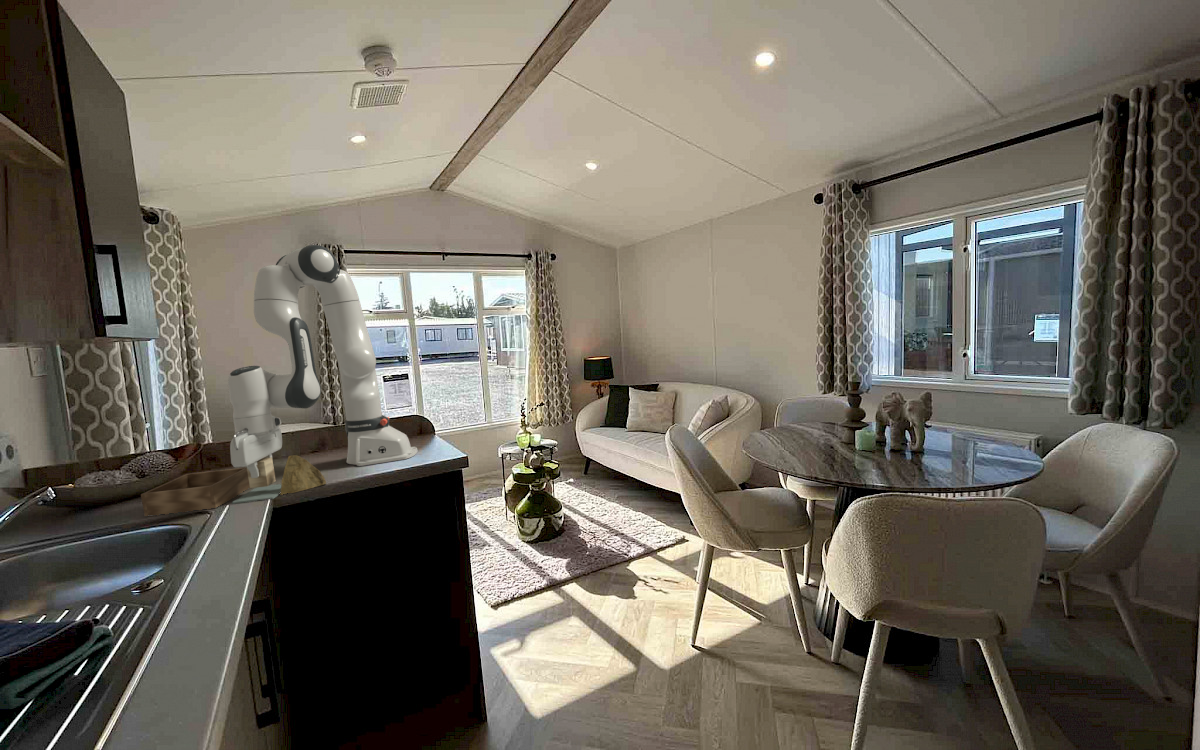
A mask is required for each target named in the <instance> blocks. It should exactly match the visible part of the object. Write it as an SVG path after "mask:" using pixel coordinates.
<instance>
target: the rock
mask: <svg viewBox="0 0 1200 750" xmlns="http://www.w3.org/2000/svg"><path fill="white" fill-rule="evenodd" d="M285 462H286V463H285V466H284V470H283V475H282V479H281V481H280V482H281V483H280V484H281V493H280V494H279V495H280V496H284V495H287V493H288V494H293V493H294V494H295V493H299V492H302V491H305V490H310V489H314V488H316V487H321V486H325V485H326V484H327V481H326V479H325V476H324V475H323V474H322V472H321V470H319V469H318V468H317V467H315V466H314V465H313V464H312V463H311V462H309V461H308V460H307V459H305V458H303V457H301V456H299V455H296V454H295V455H294V454H293V455H288V457H287V461H285ZM283 494H284V495H283Z"/></svg>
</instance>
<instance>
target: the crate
mask: <svg viewBox="0 0 1200 750" xmlns="http://www.w3.org/2000/svg"><path fill="white" fill-rule="evenodd" d="M248 488H249V489H251V488H250V484H249V478H248V472H247V467H237V468H228V469H221V470H220V469H219V470H211V471H204V472H203V471H202V472H193V473H186V474H183V475H180V476H179V477H177V478H174V479H172V480H169V481H167V482H165V483H163V484H161V485H158V486H156V487H154V488H152V489H150V490H147V491H145V492H143V493H141V494H140V498H141V499H140V500H141V503H142V509H143V513H144V514H143V515H144V517H145V516H148V515H157V516H160V515H159V514H165V515H170V514H169V513H174V514H179V513H178V512H182V513H188V512H187V511H190V512H194V511H193V510H199V511H203V510H202V509H207V510H212V509H211V508H215V509H217V508H216V507H218V506H219V507H221V506H223V505H225V503H227V501H228V502H229V501H231V500H233V499H234V498H236V497H238V496H239V495H241V494H243V493H244V492H245V490H246V491H247V490H249V489H248ZM243 491H244V492H243ZM240 493H241V494H240ZM237 495H238V496H237ZM232 498H233V499H232ZM222 504H223V505H222ZM220 505H221V506H220ZM219 507H218V508H219Z"/></svg>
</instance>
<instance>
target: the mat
mask: <svg viewBox="0 0 1200 750" xmlns="http://www.w3.org/2000/svg"><path fill="white" fill-rule="evenodd" d="M280 492H281V483H278V484H271V485H269V486H266V487H257V488H252V489H251V490H249V491H248V492H246V493H244V494H243V495H241V496H240V497H238V498H237V499H235V500H233V501H231V505H236V504H243V503H244V502H245V503H251V502H252V501H253V502H258V501H257V500H262V501H265V500H264V499H270V500H274V499H275V498H277V497H278V496H279V495H280V494H279V493H280ZM278 494H279V495H278Z"/></svg>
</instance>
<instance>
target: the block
mask: <svg viewBox="0 0 1200 750" xmlns="http://www.w3.org/2000/svg"><path fill="white" fill-rule="evenodd" d="M273 462H274V461H273V456H272V457H270V458H262V459H260V460H258V461H257V465H256V466H257V468H258V470H260V473H261V475H260V476H259V477H257V478H251V473H250V471H249V470H248V469H247V472H248V478H249V484H250V488H249V489H254V488H257V487H266V486H269V485H273V484H274V483H275V482H276V481H277V480H276V472H275V468H274V463H273Z"/></svg>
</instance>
